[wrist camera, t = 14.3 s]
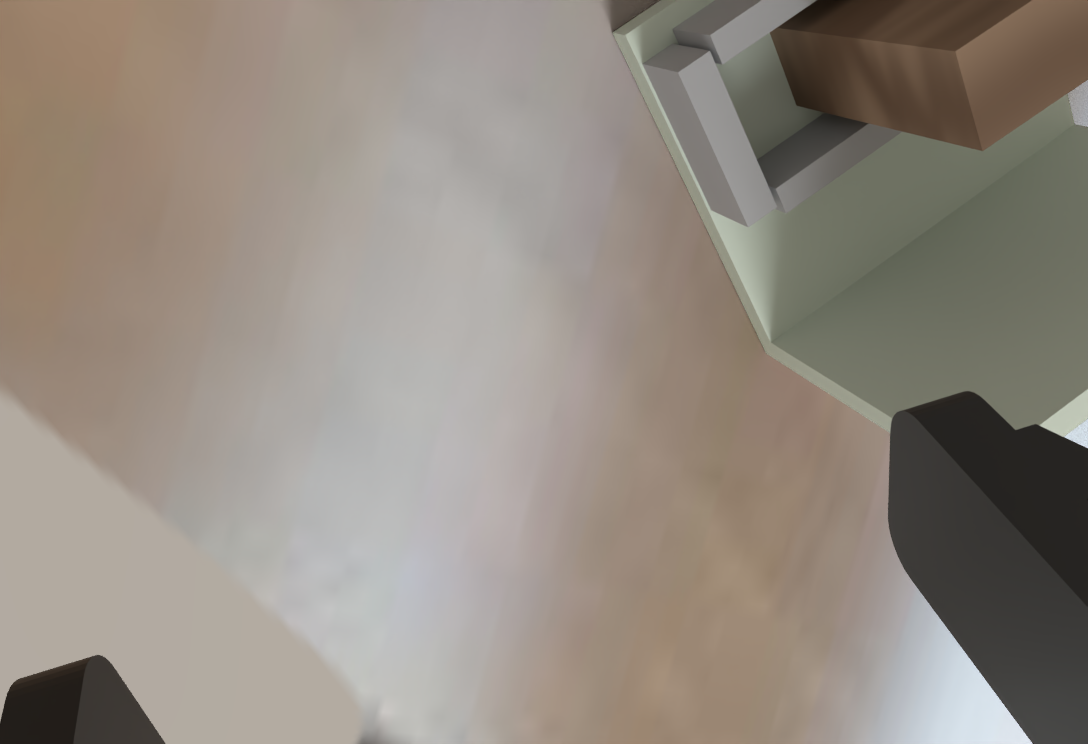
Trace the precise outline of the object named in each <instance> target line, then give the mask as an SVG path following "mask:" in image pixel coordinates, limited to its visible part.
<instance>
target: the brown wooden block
mask: <svg viewBox="0 0 1088 744" xmlns="http://www.w3.org/2000/svg"><path fill="white" fill-rule="evenodd" d="M770 35H771V38H772V40H773V43H774V46H775V48H776V51H777V54H778V57H779V59H780V62H781V65H782V67H783V70H784V73H785V76H786V78H787V81H788V84H789V86H790V89H791V92H792V95H793V97H794V100H795V103H796V105H797V106H800V107H804V108H808V109H812V110H816V111H820V112H824V113H828V114H832V115H836V116H841V117H845V118H849V119H853V120H857V121H861V122H865V123H869V124H873V125H877V126H881V127H886V128H890V129H894V130H898V131H902V132H906V133H910V134H914V135H918V136H922V137H926V138H931V139H935V140H939V141H943V142H947V143H951V144H955V145H959V146H963V147H967V148H971V149H976V150H980V151H984V150H985V149H987V148H988V147H990V146H991V145H993V144H994V143H995V142H997V141H998V140H1000V139H1001V138H1003V137H1004V136H1006V135H1007V134H1009V133H1010V132H1012V131H1013V130H1015V129H1016V128H1017V127H1019V126H1020V125H1022V124H1023V123H1025V122H1026V121H1028V120H1029V119H1031V118H1032V117H1034V116H1035V115H1037V114H1038V113H1039V112H1041V111H1042V110H1044V109H1045V108H1047V107H1048V106H1050V105H1051V104H1053V103H1054V102H1056V101H1057V100H1059V99H1060V98H1061V97H1063V96H1064V95H1066V94H1067V93H1069V92H1070V91H1072V90H1073V89H1075V88H1076V87H1078V86H1079V85H1081V84H1082V83H1083V82H1085V81H1086V80H1088V0H816V1H815V2H814V3H812V4H811V5H809V6H808V7H806V8H805V9H803V10H802V11H800V12H799V13H797V14H796V15H795V16H793V17H792V18H790V19H789V20H787V21H786V22H784V23H783V24H781V25H780V26H778V27H777V28H776V29H774V30H773V31H771V32H770Z"/></svg>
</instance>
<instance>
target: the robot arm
mask: <svg viewBox="0 0 1088 744" xmlns="http://www.w3.org/2000/svg"><path fill="white" fill-rule="evenodd" d="M888 522H889V529H890V534H891V538H892V541H893V544H894V547H895V550H896V552H897V555H898V557H899V559H900V561H901V563H902V565H903V567H904V569H905V571H906V572H907V574H908V575H909V577H910V578H911V580H912V581H913V583H914V584H915V585H916V587H917V588H918V589H919V591H920V592H921V593H922V595H923V596H924V597H925V599H926V600H927V601H928V603H929V604H930V605H931V607H932V608H933V609H934V611H935V612H936V614H937V615H938V616H939V618H940V619H941V620H942V622H943V623H944V624H945V626H946V627H947V628H948V630H949V631H950V632H951V634H952V635H953V636H954V638H955V639H956V641H957V642H958V643H959V645H960V646H961V647H962V649H963V650H964V651H965V653H966V654H967V655H968V657H969V658H970V659H971V661H972V662H973V663H974V665H975V666H976V668H977V669H978V670H979V672H980V673H981V674H982V676H983V677H984V678H985V680H986V681H987V682H988V684H989V685H990V686H991V688H992V689H993V690H994V692H995V693H996V694H997V696H998V697H999V699H1000V700H1001V701H1002V703H1003V704H1004V705H1005V707H1006V708H1007V709H1008V711H1009V712H1010V713H1011V715H1012V716H1013V717H1014V719H1015V720H1016V721H1017V723H1018V724H1019V726H1020V727H1021V728H1022V730H1023V731H1024V732H1025V734H1026V735H1027V736H1028V738H1029V739H1030V740H1031V742H1032V743H1033V744H1088V448H1085V447H1083V446H1081V445H1079V444H1077V443H1075V442H1073V441H1071V440H1069V439H1067V438H1064V437H1062V436H1060V435H1058V434H1056V433H1054V432H1052V431H1050V430H1048V429H1046V428H1044V427H1041V426H1039V425H1037V424H1034V425H1030V426H1027V427H1024V428H1021V429H1018V430H1015V429H1014V428H1013V427H1012V426H1011V425H1010V424H1009V423H1008V422H1007V421H1006V420H1005V419H1004V418H1003V417H1002V416H1001V415H1000V414H999V413H998V412H997V411H995V410H994V409H993V408H992V407H991V406H990V405H989V404H988V403H987V402H986V401H985V400H984V399H983V398H982V397H981V396H979V395H977V394H976V393H974V392H971V391H964V392H960V393H957V394H954V395H951V396H947V397H944V398H941V399H938V400H934V401H931V402H928V403H925V404H921V405H918V406H915V407H912V408H908V409H905V410H902V411H899V412H897V413H896V414H895V415H894V416H893V418H892V422H891V429H890V464H889V502H888ZM0 744H165V742H164V741H163V739H162V738H161V736H160V735H159V733H158V732H157V730H156V729H155V727H154V726H153V724H152V723H151V721H150V720H149V718H148V717H147V716H146V714H145V713H144V711H143V710H142V708H141V707H140V705H139V704H138V702H137V701H136V699H135V698H134V696H133V695H132V693H131V692H130V690H129V689H128V687H127V686H126V684H125V683H124V682H123V680H122V678H121V677H120V676H119V674H118V673H117V671H116V670H115V668H114V667H113V665H112V664H111V663H110V662H109V661H108V660H107V659H106V658H105V657H103V656H100V655H96V656H92V657H89V658H86V659H83V660H79V661H76V662H73V663H69V664H66V665H63V666H60V667H56V668H53V669H50V670H47V671H43V672H40V673H37V674H33V675H31V676H27V677H24V678H20V679H18V680H16V681H15V682H14V683H13V684H12V685H11V687H10V689H9V691H8V693H7V697H6V700H5V704H4V709H3V713H2V717H1V722H0Z"/></svg>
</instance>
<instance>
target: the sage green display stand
mask: <svg viewBox="0 0 1088 744" xmlns="http://www.w3.org/2000/svg"><path fill="white" fill-rule="evenodd" d="M815 1H816V0H660V1H659V2H657V3H656V4H654V5H653V6H651V7H650V8H648V9H647V10H645V11H644V12H642V13H641V14H639V15H638V16H636V17H635V18H633V19H632V20H630V21H629V22H627V23H626V24H624V25H623V26H621V27H620V28H619V29H617V30H616V31H614V32H613V35H614V37H615V39H616V41H617V43H618V45H619V48H620V50H621V52H622V54H623V56H624V58H625V60H626V62H627V64H628V66H629V68H630V71H631V73H632V75H633V77H634V79H635V81H636V83H637V85H638V87H639V89H640V91H641V93H642V96H643V98H644V100H645V102H646V104H647V106H648V108H649V110H650V112H651V114H652V116H653V118H654V121H655V123H656V125H657V127H658V129H659V131H660V133H661V135H662V137H663V139H664V141H665V144H666V146H667V148H668V150H669V152H670V154H671V156H672V158H673V160H674V162H675V164H676V166H677V169H678V171H679V173H680V175H681V177H682V179H683V181H684V183H685V185H686V187H687V189H688V192H689V194H690V196H691V198H692V200H693V202H694V204H695V206H696V208H697V210H698V212H699V214H700V217H701V219H702V221H703V223H704V225H705V227H706V229H707V231H708V233H709V235H710V237H711V240H712V242H713V244H714V246H715V248H716V250H717V252H718V254H719V256H720V258H721V260H722V262H723V265H724V267H725V269H726V271H727V273H728V275H729V277H730V279H731V281H732V283H733V285H734V287H735V290H736V292H737V294H738V296H739V298H740V300H741V302H742V304H743V306H744V308H745V310H746V313H747V315H748V317H749V319H750V321H751V323H752V325H753V327H754V329H755V331H756V333H757V335H758V338H759V340H760V342H761V344H762V346H763V348H764V350H765V352H766V354H768V355H769V356H771V357H773V358H774V359H776V360H777V361H779V362H780V363H782V364H783V365H785V366H787V367H788V368H790V369H791V370H793V371H794V372H796V373H797V374H799V375H801V376H802V377H804V378H805V379H807V380H808V381H810V382H811V383H813V384H815V385H816V386H818V387H819V388H821V389H822V390H824V391H825V392H827V393H829V394H830V395H832V396H833V397H835V398H836V399H838V400H839V401H841V402H843V403H844V404H846V405H847V406H849V407H850V408H852V409H853V410H855V411H856V412H858V413H860V414H861V415H863V416H864V417H866V418H867V419H869V420H870V421H872V422H874V423H875V424H877V425H878V426H880V427H881V428H883V429H884V430H886V431H888V432H889V433H890V429H891V422H892V418H893V416H894V415H895V414H896V413H897V412H899V411H902V410H905V409H908V408H912V407H915V406H918V405H921V404H925V403H928V402H931V401H934V400H938V399H941V398H944V397H947V396H951V395H954V394H957V393H960V392H964V391H971V392H974V393H976V394H977V395H979V396H981V397H982V398H983V399H984V400H985V401H986V402H987V403H988V404H989V405H990V406H991V407H992V408H993V409H994V410H995V411H997V412H998V413H999V414H1000V415H1001V416H1002V417H1003V418H1004V419H1005V420H1006V421H1007V422H1008V423H1009V424H1010V425H1011V426H1012V427H1013V428H1014V429H1015V430H1018V429H1021V428H1024V427H1027V426H1030V425H1034V424H1037V425H1039V426H1041V427H1044V428H1046V429H1048V430H1050V431H1052V432H1054V433H1056V434H1058V435H1060V436H1062V437H1064V436H1066V435H1067V434H1068V433H1070V432H1071V431H1072V430H1074V429H1075V428H1076V427H1078V426H1079V425H1080V424H1082V423H1083V422H1084V421H1086V420H1087V419H1088V127H1085V126H1080V125H1075V124H1074V120H1073V116H1072V111H1071V107H1070V103H1069V99H1068V95H1067V94H1066V95H1064V96H1063V97H1061V98H1060V99H1059V100H1057V101H1056V102H1054V103H1053V104H1051V105H1050V106H1048V107H1047V108H1045V109H1044V110H1042V111H1041V112H1039V113H1038V114H1037V115H1035V116H1034V117H1032V118H1031V119H1029V120H1028V121H1026V122H1025V123H1023V124H1022V125H1020V126H1019V127H1017V128H1016V129H1015V130H1013V131H1012V132H1010V133H1009V134H1007V135H1006V136H1004V137H1003V138H1001V139H1000V140H998V141H997V142H995V143H994V144H993V145H991V146H990V147H988V148H987V149H985V150H984V151H980V150H976V149H971V148H967V147H963V146H959V145H955V144H951V143H947V142H943V141H939V140H935V139H931V138H926V137H922V136H918V135H914V134H910V133H906V132H902V131H898V130H894V129H890V128H886V127H881V126H877V125H873V124H869V123H865V122H861V121H857V120H853V119H849V118H845V117H841V116H836V115H832V114H828V113H824V112H820V111H816V110H812V109H808V108H804V107H800V106H797V105H796V103H795V100H794V97H793V95H792V92H791V89H790V86H789V84H788V81H787V78H786V76H785V73H784V70H783V67H782V65H781V62H780V59H779V57H778V54H777V51H776V48H775V46H774V43H773V40H772V38H771V35H770V32H771V31H773V30H774V29H776V28H777V27H778V26H780V25H781V24H783V23H784V22H786V21H787V20H789V19H790V18H792V17H793V16H795V15H796V14H797V13H799V12H800V11H802V10H803V9H805V8H806V7H808V6H809V5H811V4H812V3H814V2H815Z"/></svg>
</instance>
